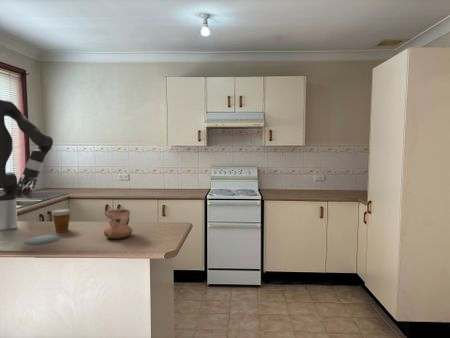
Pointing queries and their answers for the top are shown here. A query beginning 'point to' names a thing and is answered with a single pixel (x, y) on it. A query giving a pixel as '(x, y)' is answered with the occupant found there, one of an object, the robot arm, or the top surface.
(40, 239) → the mat
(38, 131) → the robot arm
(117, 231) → the ceramic jug
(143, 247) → the top surface
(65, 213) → the disposable coffee cup
